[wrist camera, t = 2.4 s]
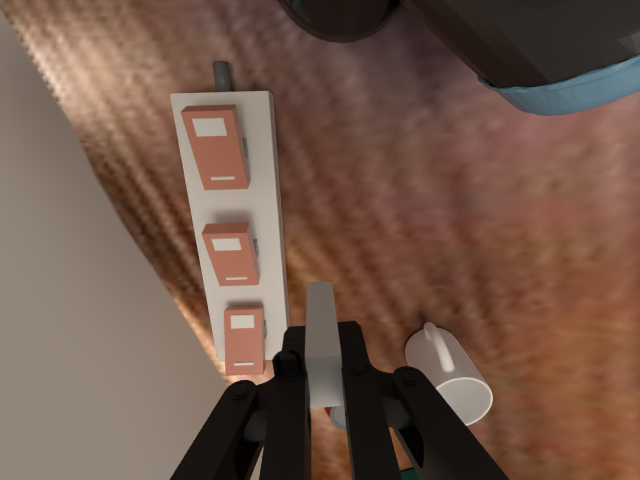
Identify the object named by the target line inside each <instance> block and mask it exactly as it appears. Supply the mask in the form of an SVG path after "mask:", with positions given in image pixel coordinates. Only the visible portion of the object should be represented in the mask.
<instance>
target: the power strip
mask: <svg viewBox="0 0 640 480" xmlns="http://www.w3.org/2000/svg"><path fill="white" fill-rule="evenodd" d="M213 69H214V76H215V84H216V92H210V93H175V94H170V97H171V103H172V109H173V114H174V120H175V125H176V131H177V136H178V142H179V147H180V153H181V159H182V164H183V170H184V175H185V181H186V186H187V192H188V198H189V203H190V209H191V214H192V220H193V225H194V231H195V237H196V242H197V248H198V253H199V259H200V264H201V270H202V275H203V281H204V287H205V292H206V298H207V303H208V309H209V314H210V320H211V326H212V331H213V337H214V342H215V348H216V353H217V359H218V361H225V337H224V310H225V309H227V308H228V307H254V306H264V331H265V360H272V359H273V357H274V356H275V355H276V354H277V353H278V352H279V351H281V350H282V343H283V336H284V333H285V331H286V330H287V329H288V327H290V317H289V303H288V289H287V276H286V262H285V248H284V235H283V221H282V207H281V194H280V180H279V166H278V153H277V139H276V126H275V112H274V98H273V95H272V94H271V93H270V92H269V91H246V92H232V88H231V79H230V71H229V63H228V62H225V61H215V62H213ZM233 104H236V107H237V113H238V118H239V123H240V129H241V134H242V139H243V144H244V150H245V155H246V160H247V166H248V171H249V176H250V183H249V187H248V189H231V190H204V187H203V184H202V181H201V178H200V174H199V171H198V168H197V165H196V161H195V158H194V155H193V152H192V148H191V145H190V142H189V138H188V135H187V132H186V129H185V125H184V122H183V119H182V116H181V111H182V110H183V109H184V108H185V107H186V106H198V105H233ZM240 222H249V224H250V228H251V233H252V238H253V242H254V247H255V252H256V256H257V261H258V266H259V270H260V279H259V284H258V285H247V286H219V283H218V280H217V277H216V274H215V271H214V269H213V266H212V263H211V260H210V257H209V254H208V252H207V249H206V246H205V243H204V240H203V237H202V232H203V229H204V227H205V225H206V224H208V223H240Z"/></svg>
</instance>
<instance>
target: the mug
mask: <svg viewBox="0 0 640 480" xmlns="http://www.w3.org/2000/svg"><path fill="white" fill-rule="evenodd" d="M405 358H406V361H407V364H408V366H410V367H414V368H416V369H419V370H420V371H421V372H422V373H424V374H425V376H426V377H427V378H428V379H429V381H430V382H431V383H432V384H433V386H434V387H435V388H436V389H437V391H438V392H439V393H440V394H441V395H442V397H443V398H444V399H445V400H446V402H447V403H448V404H449V405H450V407H451V408H452V409H453V410H454V412H455V413H456V414H457V415H458V417H459V418H460V419H461V420H462V422H463V423H464V424H465V425H466V426H467V425H470V424H472V423H474V422H476V421H478V420H479V419H481V418H482V417H483V416H484V415H485V414H486V413H487V412H488V411H489V409H490V407H491V405H492V400H493V396H492V392H491V389H490V388H489V386H488V385H487V383H486V382H485V380H484V379H483V377H482V376H481V375H480V373H479V372H478V370H477V369H476V367H475V366H474V364H473V363H472V361H471V360H470V358H469V357H468V356H467V354H466V353H465V351H464V350H463V348H462V347H461V345H460V344H459V342H458V341H457V340H456V338H455V337H454V336H453V335H452V334H451V333H450V332H448V331H446V330H444V329H441V328H436V326H435V325H434V324H433V323H431V322H426V323H425V324H424V329H423V330H420V331H418V332H417V333H415V334H414V335H413V336H412V337H411V338H410V339H409V340H408V342H407V344H406V347H405Z"/></svg>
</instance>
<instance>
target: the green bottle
mask: <svg viewBox="0 0 640 480" xmlns="http://www.w3.org/2000/svg"><path fill="white" fill-rule="evenodd" d="M400 474H401V477H402V480H420V478H419V476H418V474H417V472H416V471H415V469H414V468H413V469H409V470H406V471H402V472H400Z"/></svg>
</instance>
